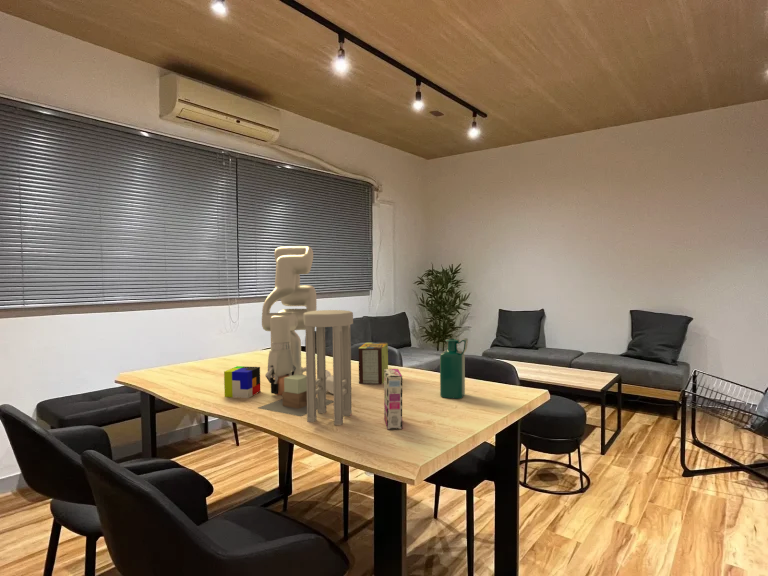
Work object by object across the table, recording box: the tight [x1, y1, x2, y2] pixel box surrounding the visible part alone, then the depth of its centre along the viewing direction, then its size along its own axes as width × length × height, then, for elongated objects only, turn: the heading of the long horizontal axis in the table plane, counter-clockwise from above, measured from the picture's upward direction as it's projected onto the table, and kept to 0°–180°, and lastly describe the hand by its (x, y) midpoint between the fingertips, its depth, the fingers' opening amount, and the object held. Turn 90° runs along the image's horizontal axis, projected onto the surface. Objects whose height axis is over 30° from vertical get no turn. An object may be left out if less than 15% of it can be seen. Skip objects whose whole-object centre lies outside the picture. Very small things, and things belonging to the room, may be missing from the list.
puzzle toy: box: [223, 365, 261, 399], centre depth 182 cm, size 10×10×10 cm
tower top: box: [284, 374, 307, 394], centre depth 165 cm, size 6×6×5 cm
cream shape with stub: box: [326, 369, 353, 395], centre depth 182 cm, size 9×8×15 cm
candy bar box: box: [383, 368, 403, 430], centre depth 144 cm, size 11×5×16 cm, turn 5°
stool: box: [304, 309, 354, 426], centre depth 150 cm, size 16×16×35 cm
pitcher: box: [439, 337, 469, 400], centre depth 175 cm, size 10×8×22 cm
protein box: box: [357, 342, 389, 385], centre depth 203 cm, size 10×15×16 cm
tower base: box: [281, 391, 307, 409], centre depth 166 cm, size 8×8×5 cm
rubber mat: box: [257, 397, 334, 417], centre depth 166 cm, size 20×20×1 cm
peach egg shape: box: [274, 375, 289, 396], centre depth 181 cm, size 6×6×7 cm
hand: (281, 390), depth 182 cm, fingers open, 7 cm apart
